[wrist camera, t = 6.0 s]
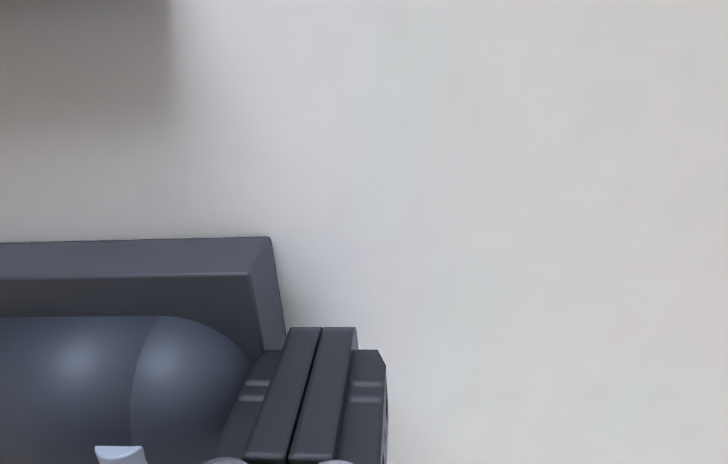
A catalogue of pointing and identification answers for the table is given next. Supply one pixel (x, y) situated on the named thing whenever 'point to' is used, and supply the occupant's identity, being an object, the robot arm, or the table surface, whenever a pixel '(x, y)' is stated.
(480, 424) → the table surface
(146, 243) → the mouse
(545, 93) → the table surface
